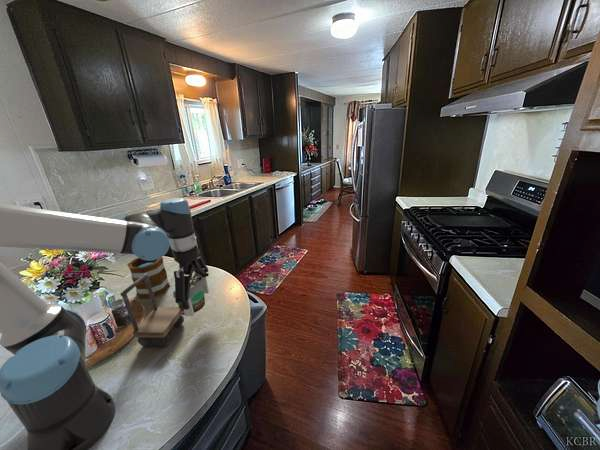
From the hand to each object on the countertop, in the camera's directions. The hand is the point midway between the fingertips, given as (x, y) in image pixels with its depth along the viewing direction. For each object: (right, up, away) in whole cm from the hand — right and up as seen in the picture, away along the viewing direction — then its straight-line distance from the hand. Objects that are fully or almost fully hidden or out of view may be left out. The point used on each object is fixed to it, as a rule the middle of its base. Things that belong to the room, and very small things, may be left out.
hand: (198, 303), depth 84 cm
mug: (-32, -2, +29) cm, 43 cm away
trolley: (-12, -11, 0) cm, 16 cm away
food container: (0, -1, 0) cm, 1 cm away
